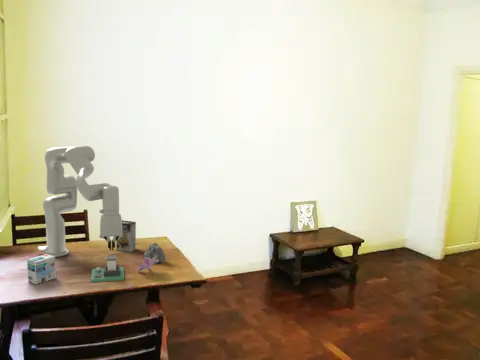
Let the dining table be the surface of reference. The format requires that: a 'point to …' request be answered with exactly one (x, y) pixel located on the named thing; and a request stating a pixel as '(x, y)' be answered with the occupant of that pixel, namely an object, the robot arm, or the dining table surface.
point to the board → (107, 274)
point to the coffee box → (127, 237)
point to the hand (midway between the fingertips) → (111, 249)
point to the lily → (147, 263)
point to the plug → (111, 262)
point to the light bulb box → (41, 268)
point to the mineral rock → (155, 253)
